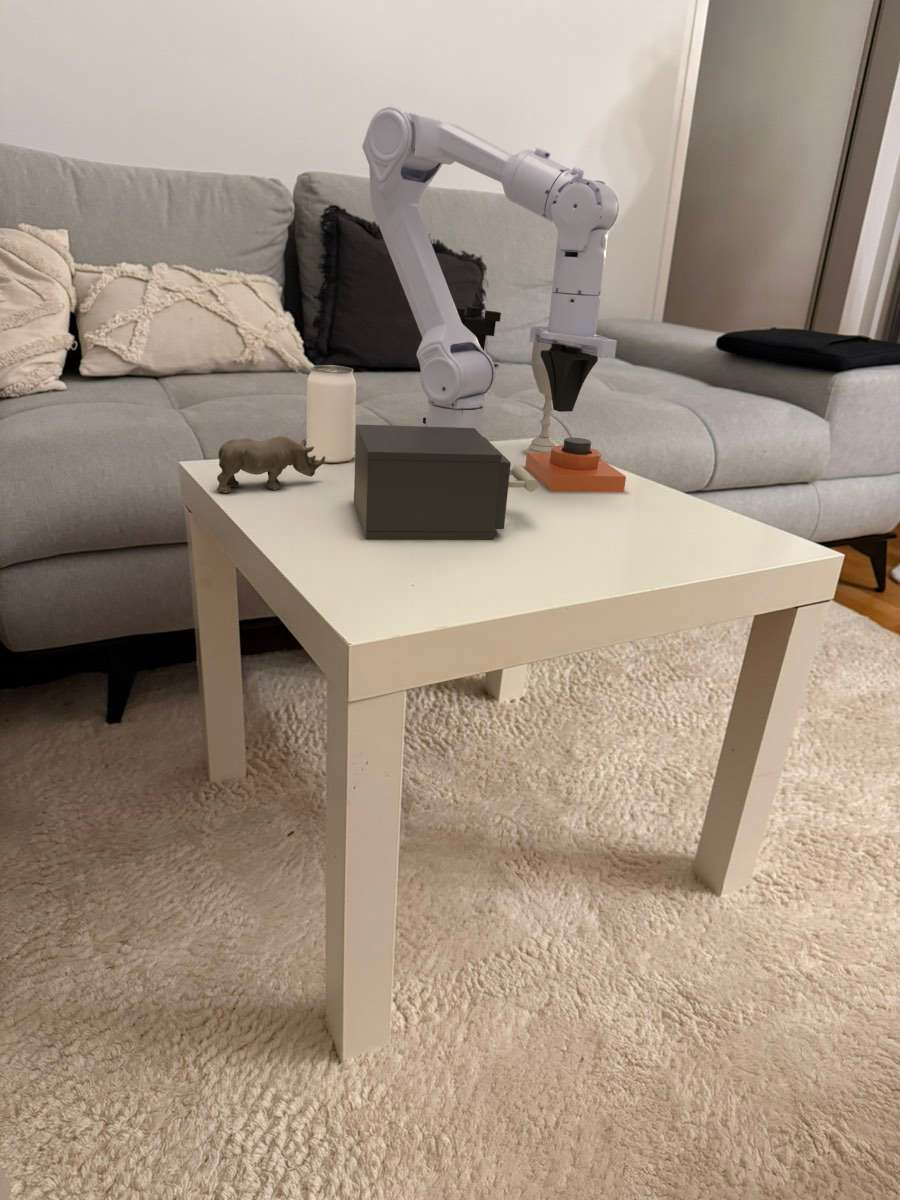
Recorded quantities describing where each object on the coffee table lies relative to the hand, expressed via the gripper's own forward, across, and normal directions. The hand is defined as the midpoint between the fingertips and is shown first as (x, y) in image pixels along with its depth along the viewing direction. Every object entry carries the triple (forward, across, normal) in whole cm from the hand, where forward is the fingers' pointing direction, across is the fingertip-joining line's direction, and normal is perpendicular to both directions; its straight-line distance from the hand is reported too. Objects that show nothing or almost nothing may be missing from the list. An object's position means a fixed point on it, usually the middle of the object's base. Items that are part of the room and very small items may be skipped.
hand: (562, 410), depth 105 cm
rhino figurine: (+10, -12, -33) cm, 37 cm away
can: (+10, -23, -21) cm, 33 cm away
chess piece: (+10, -23, -3) cm, 25 cm away
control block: (+10, -4, +6) cm, 13 cm away
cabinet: (+10, +5, -22) cm, 25 cm away
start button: (+7, -4, +6) cm, 10 cm away
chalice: (+10, -18, +11) cm, 23 cm away
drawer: (+9, +6, -18) cm, 22 cm away
